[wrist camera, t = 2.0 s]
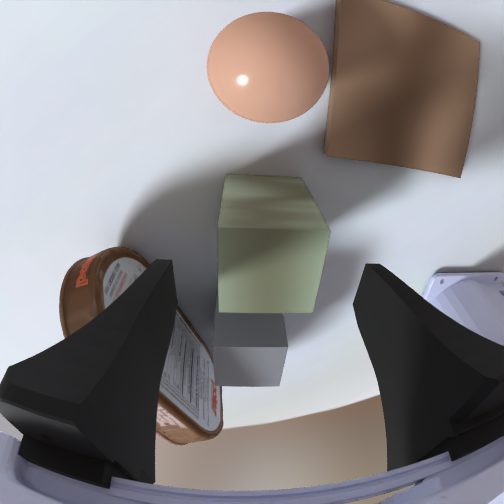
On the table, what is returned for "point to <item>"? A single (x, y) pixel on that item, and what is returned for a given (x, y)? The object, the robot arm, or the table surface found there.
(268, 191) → the green block
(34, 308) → the table surface
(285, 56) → the peach rounded capsule
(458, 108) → the walnut board
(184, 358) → the tin
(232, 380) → the grey block
